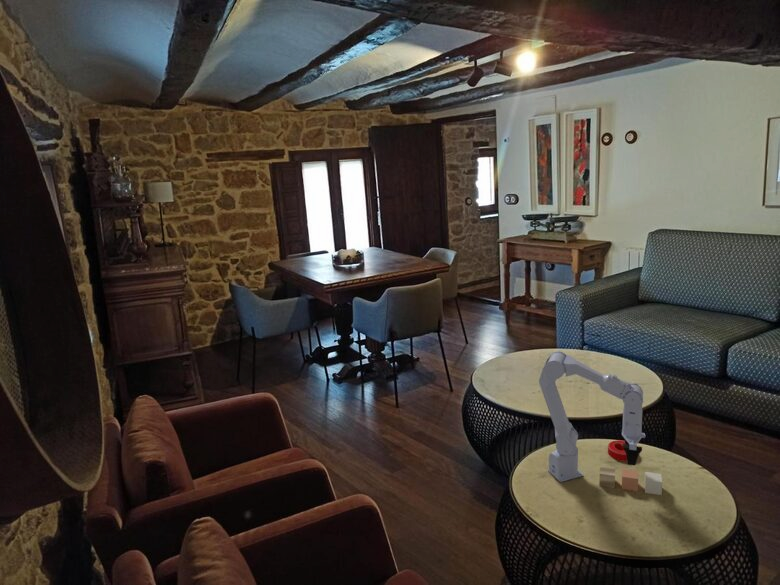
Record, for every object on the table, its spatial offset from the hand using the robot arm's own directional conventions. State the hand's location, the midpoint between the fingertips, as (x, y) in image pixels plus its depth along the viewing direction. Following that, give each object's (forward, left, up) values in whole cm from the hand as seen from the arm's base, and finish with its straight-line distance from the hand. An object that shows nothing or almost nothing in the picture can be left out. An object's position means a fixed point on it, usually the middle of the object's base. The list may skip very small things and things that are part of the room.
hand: (630, 458), depth 179 cm
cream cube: (+5, -5, -10) cm, 12 cm away
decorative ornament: (+10, +16, -10) cm, 22 cm away
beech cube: (-6, +4, -10) cm, 12 cm away
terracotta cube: (-1, -1, -10) cm, 10 cm away
